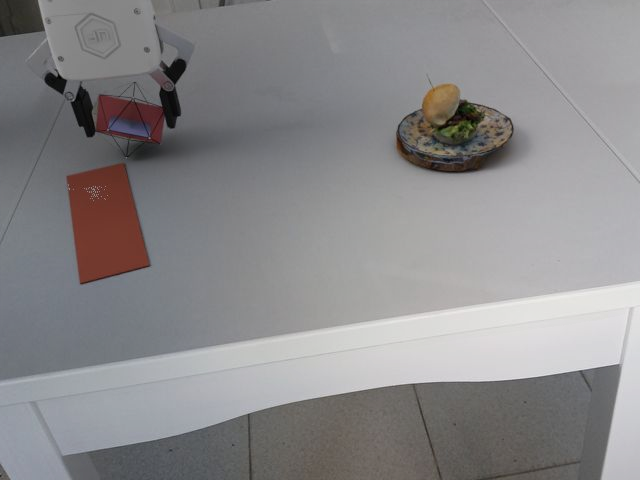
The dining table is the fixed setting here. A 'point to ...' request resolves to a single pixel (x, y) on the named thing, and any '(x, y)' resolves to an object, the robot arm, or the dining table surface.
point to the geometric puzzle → (128, 119)
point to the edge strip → (105, 224)
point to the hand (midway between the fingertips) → (132, 126)
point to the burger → (451, 131)
